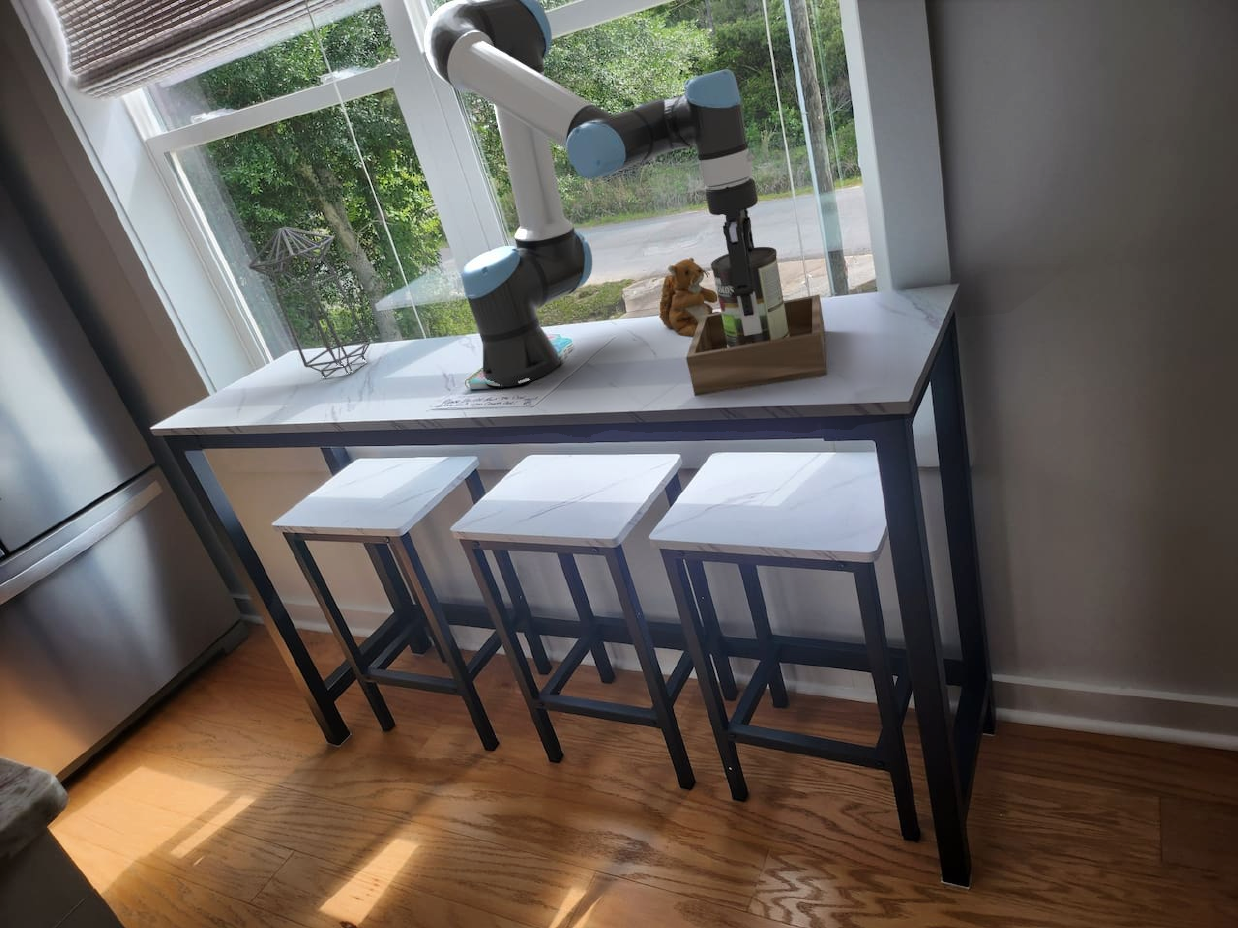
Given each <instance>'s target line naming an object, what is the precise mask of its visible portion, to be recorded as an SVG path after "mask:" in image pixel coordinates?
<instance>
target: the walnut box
mask: <svg viewBox="0 0 1238 928" xmlns="http://www.w3.org/2000/svg"><path fill="white" fill-rule="evenodd" d="M820 295H821V294H815V295H814V294H813V295H810V296H809V295H808V296H804V297H797V298H791V299H788V300H783V301H784V307H785V313H786V319H787V325H788V331H789V334H790V336H789V337H788V338H782V339H776V340H770V341H764V342H758V343H752V344H747V345H741V346H735V347H729V348H728V347H727V340H726V335H725V329H724V324H723V319H722V314H721V311H719V312H720V313H715V314H709V315H704V316H701V318H700V320H699V323H698V326H697V329H696V331H695V334H694V335H693V336H692V340H691V343H690V345H689V348H688V351H687V353H686V356H685V358H686V363H687V367H688V373H689V378H690V381H691V385H692V389H693V393H694V397H695V396H700V395H708V394H713V393H714V394H715V393H721V392H726V391H733V390H740V389H746V388H747V389H748V388H751V387H752V388H753V387H758V386H759V387H760V386H766V385H771V384H772V385H773V384H777V383H784V382H785V383H786V382H790V381H797V380H805V379H811V378H817V377H823V376H824V377H825V376H827V375H828V374H827V351H826V350H827V349H826V346H827V345H826V328H825V327H826V326H825V322H824V315H823V308H822V303H821V296H820Z"/></svg>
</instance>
